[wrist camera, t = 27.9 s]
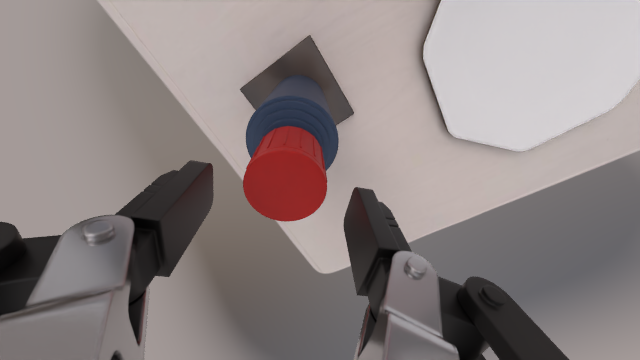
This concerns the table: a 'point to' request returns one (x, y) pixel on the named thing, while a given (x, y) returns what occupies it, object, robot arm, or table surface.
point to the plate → (530, 66)
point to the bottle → (295, 115)
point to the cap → (286, 175)
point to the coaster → (304, 63)
